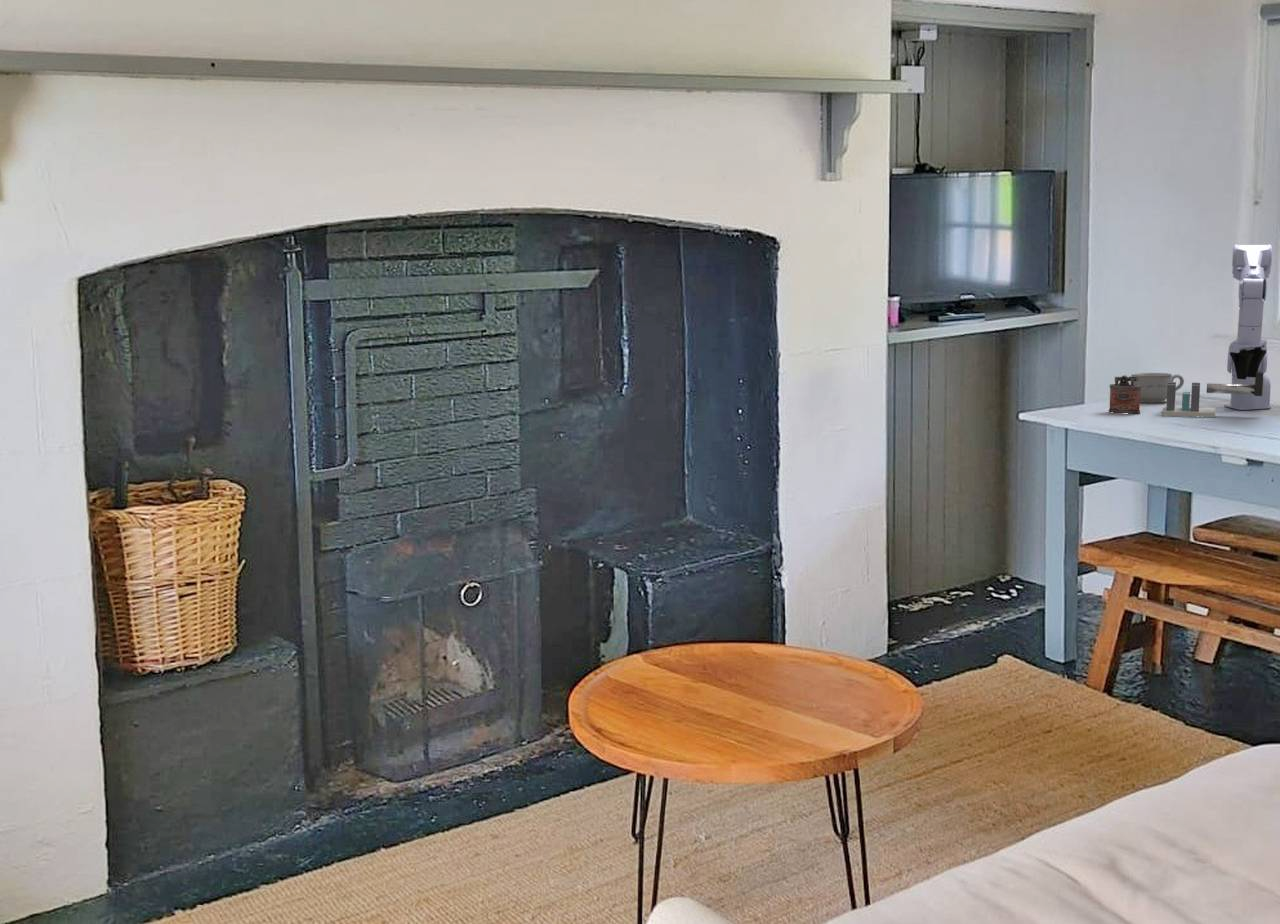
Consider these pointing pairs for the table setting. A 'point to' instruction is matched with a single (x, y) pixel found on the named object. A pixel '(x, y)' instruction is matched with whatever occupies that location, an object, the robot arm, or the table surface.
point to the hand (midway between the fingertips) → (1246, 378)
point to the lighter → (1125, 395)
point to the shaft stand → (1193, 410)
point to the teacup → (1155, 385)
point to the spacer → (1185, 401)
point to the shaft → (1238, 387)
